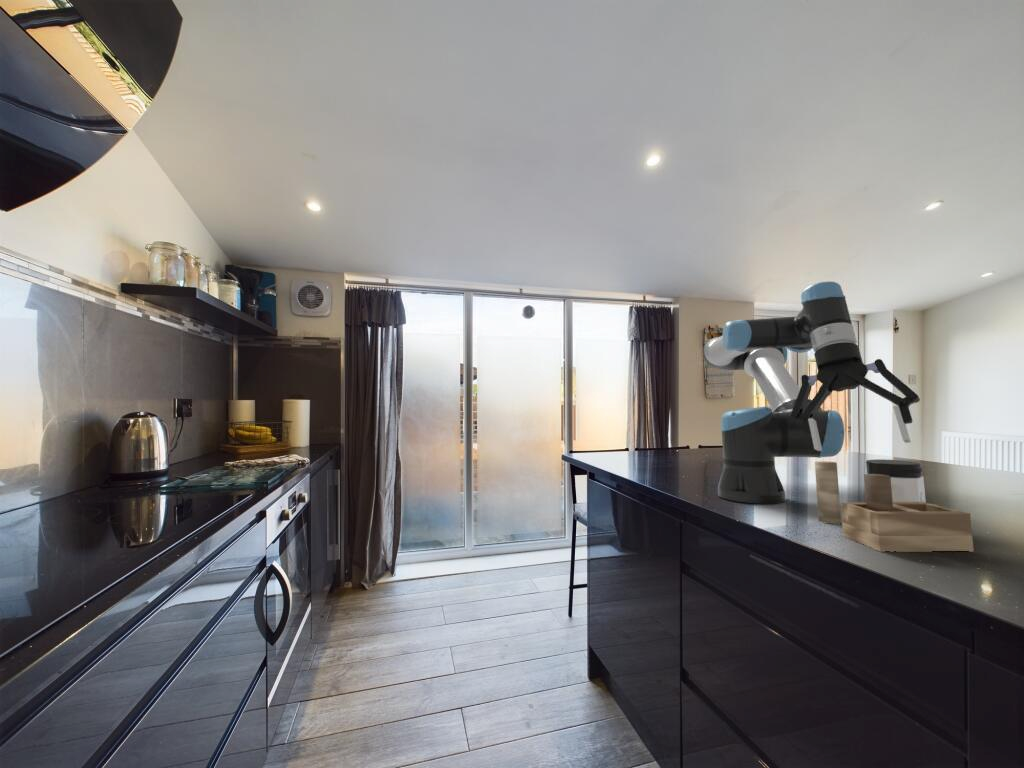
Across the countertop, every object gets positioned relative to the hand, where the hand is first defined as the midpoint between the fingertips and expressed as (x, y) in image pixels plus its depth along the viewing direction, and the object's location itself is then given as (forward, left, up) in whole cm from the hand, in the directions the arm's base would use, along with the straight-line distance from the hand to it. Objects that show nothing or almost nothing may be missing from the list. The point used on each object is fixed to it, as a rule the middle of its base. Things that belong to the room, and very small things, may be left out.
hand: (860, 446), depth 79 cm
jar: (-3, +8, -16) cm, 18 cm away
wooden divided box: (+10, -1, -16) cm, 18 cm away
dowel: (-4, -4, -16) cm, 17 cm away
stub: (+10, -5, -13) cm, 17 cm away
